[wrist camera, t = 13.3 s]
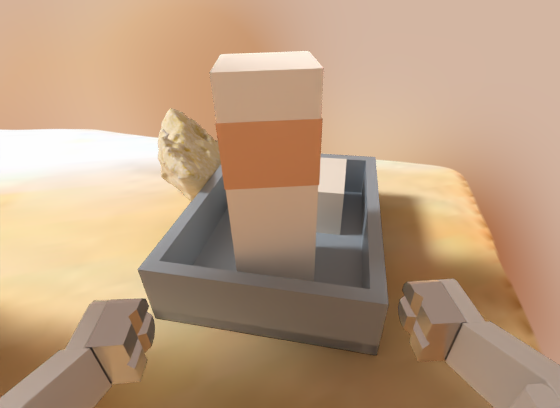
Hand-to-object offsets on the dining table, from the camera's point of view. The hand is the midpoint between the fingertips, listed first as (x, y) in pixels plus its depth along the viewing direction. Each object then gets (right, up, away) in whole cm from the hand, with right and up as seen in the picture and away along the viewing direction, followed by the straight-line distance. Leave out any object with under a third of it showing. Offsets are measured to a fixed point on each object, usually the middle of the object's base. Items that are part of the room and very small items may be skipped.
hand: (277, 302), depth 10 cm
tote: (+1, -1, +21) cm, 21 cm away
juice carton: (0, -2, +16) cm, 17 cm away
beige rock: (-9, +4, +29) cm, 31 cm away
